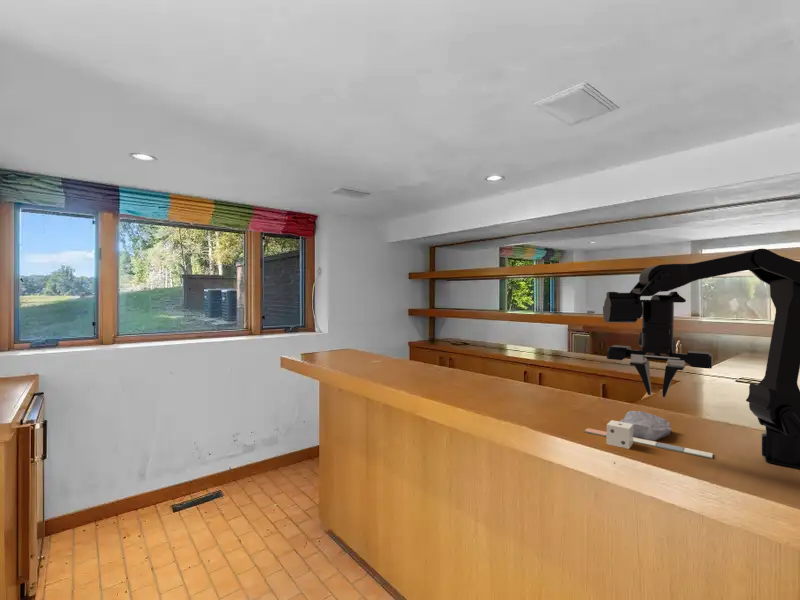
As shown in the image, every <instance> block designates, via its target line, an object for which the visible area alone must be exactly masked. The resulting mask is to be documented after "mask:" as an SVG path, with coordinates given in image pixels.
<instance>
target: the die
mask: <svg viewBox="0 0 800 600" xmlns="http://www.w3.org/2000/svg"><path fill="white" fill-rule="evenodd" d="M606 432H607V437H606V442H605V443H606V445H607V446H608V445H609V446H613V447H619V448H621V449H627V450H629V449H630V448H631V447H632V446H633V444H634V442H633V424H630V423H624V422H621V421H620V420H619V421H618V420H612V419H610V421H609V422H608V423H606Z"/></svg>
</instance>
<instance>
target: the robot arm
mask: <svg viewBox="0 0 800 600" xmlns="http://www.w3.org/2000/svg"><path fill="white" fill-rule="evenodd" d="M744 271H749V272H751V273H752V274H753V275H754V276H755V277H756V278H758V280H760V281H761V282H763V283H765V284H767V285H768V286H769V292H770V293H769V296H770V298H771V301H772V303H773V306H774V308H775V315H774V319H773V325H772V326H773V327H772V332H771V338H770V346H769V350H768V356H767V362H766V367H765V373H764V377H763V378H762V380H761V381H759V382H758V384H756V383H754V382H750V384H749V386H748V389H749V390H748V395H747V398H746V400H745V401H746V402H747V403H748V407H749V410H750V411H751V413H752V414H753V415H754V416H755V417H757V421H758V423H759V424H760V425H761V426H763V427H765V433H764V432H763V433H761V446H760V447H761V448H760V449H761V450H760V453H761V456H762V457H763V458H764V460H765V462H767V463H770V464H775V465H780V466H784V467H790V468H794V469H799V470H800V387H799V384H798V380H799V376H800V261H798V260H795V259H791V258H789V257H785V256H783V255H782V256H781V255H779V254H777V253H775V252H773V251H771V250H769V249H767V248H757V249H752V250H751V249H750V250H746V251H745V252H741V253H738V254H737V253H736V254H732V255H728V256H723V257H718V258H713V259H708V260H703V261H698V262H693V263H668V264H667V263H663V264H657V265H653V266H649V267H645V268H644V269H643V270H642V271H641V273H640V274H639V277H638V279H639V280H638V282H637V283H636V284H635V285H634V287H633V288H632V289H631V290H630V291H629V292H617V291H607V292H606V293H605V294H606V295H605V297H606V298H605V300H604V303H603V304H604V305H603V306H602V315H603V320H604V321H605V323H618V324H619V323H623V324H624V323H625V324H634V323H635V324H636V322H637V321H638V320H639V319H640V320H642V321H641V322H642V323H641V332H639V335H638V346H639V347H640V348H641V350H640V349H632V347H631V345H618V344H613V345H611V346H609V347H608V348H607V350H606V359H607V360H612V361H613V360H614V361H615V360H616V361H623V360H624V359H625V358H629V359H630V361H629V365H630V366H633V367H635V369H636V371H637V373H638V374H639V376H640V378H641V380H642V381H641V382H643V385H644V388H645V391H646V393H647V395H648V396H651V395H652V382H651V373H650V361H649V360H655V361H665V362H667V363H668V364H667V365H665V370H664V377H663V385H662V398H666V396H667V394H668V391H669V389H670V386H671V383H672V381H673V379H674V377H675V375H676V373H677V372H678V371H683V370H685V368H686V363H687V364H688V365H689V366H690V368H691V367H692V368H699V369H712V368H713V366H714V365H713V364H714V363H713V359H714V357H713V353H711V352H710V351H703V350H702V351H700V350H688V351H687V352H686V353H683V352H681V353H679V352H678V353H677V352H676V339H675V337H674V331H675V330H674V328H675V327H674V323H675V321H674V319H675V318H674V316H675V309H674V308H675V306H674V305H675V303H686V301H687V300H686V298H684V297H683V296H681V295H680V294H679V293H678V292H677V291H672V290H676V289H678V288H681V287H683V286H686V285H688V284H690V283H692V282H695V281H699V280H705V279H708V278H713V277H714V278H715V277H718V276H719V277H720V276H723V275H729V274H734V273H741V272H744ZM660 292H661V293H663V292H664V293H665V292H669V293H668V294H658V293H660ZM641 297H651V298H650V299H641ZM641 318H642V319H641Z"/></svg>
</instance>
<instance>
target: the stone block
mask: <svg viewBox="0 0 800 600" xmlns="http://www.w3.org/2000/svg"><path fill="white" fill-rule="evenodd" d="M620 422H624V423H630V424H633V437H635V438H639V439H644V440H649V441H654V442H656V441H657V440H660V439H661V438H665V437H667V436H669V435H670V434H671V431H672V427H671V423H670V422H669V421H668V420H667V419H665V418H663V417H662V416H658V415H654V414H653V413H649V412H645V411H638V410H630V411H627V412H626V414H625V416H624V418H621V420H620Z"/></svg>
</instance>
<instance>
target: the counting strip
mask: <svg viewBox="0 0 800 600" xmlns="http://www.w3.org/2000/svg"><path fill="white" fill-rule="evenodd" d="M583 432H584V433H588V434H592V435H595V436H596V435H597V436H602V437H606V438H607V431H605V430H599V429H595V428H590V427H587V428H586V429H585V430H583ZM633 444H639V445H645V446H649V447H653V448H657V449H665V450H667V451H668V450H669V451H673V452H678V453H683V454H687V455H691V456H695V457H696V456H698V457H701V458H707V459H711V460H714V459H713V458H714V453H712V452H708V451H702V450H698V449H693V448H689V447H688V448H687V447H684V446H683V447H682V446H678V445H672V444H668V443H663V442H658V441H652V440H647V439H643V438H638V437H633Z"/></svg>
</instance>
